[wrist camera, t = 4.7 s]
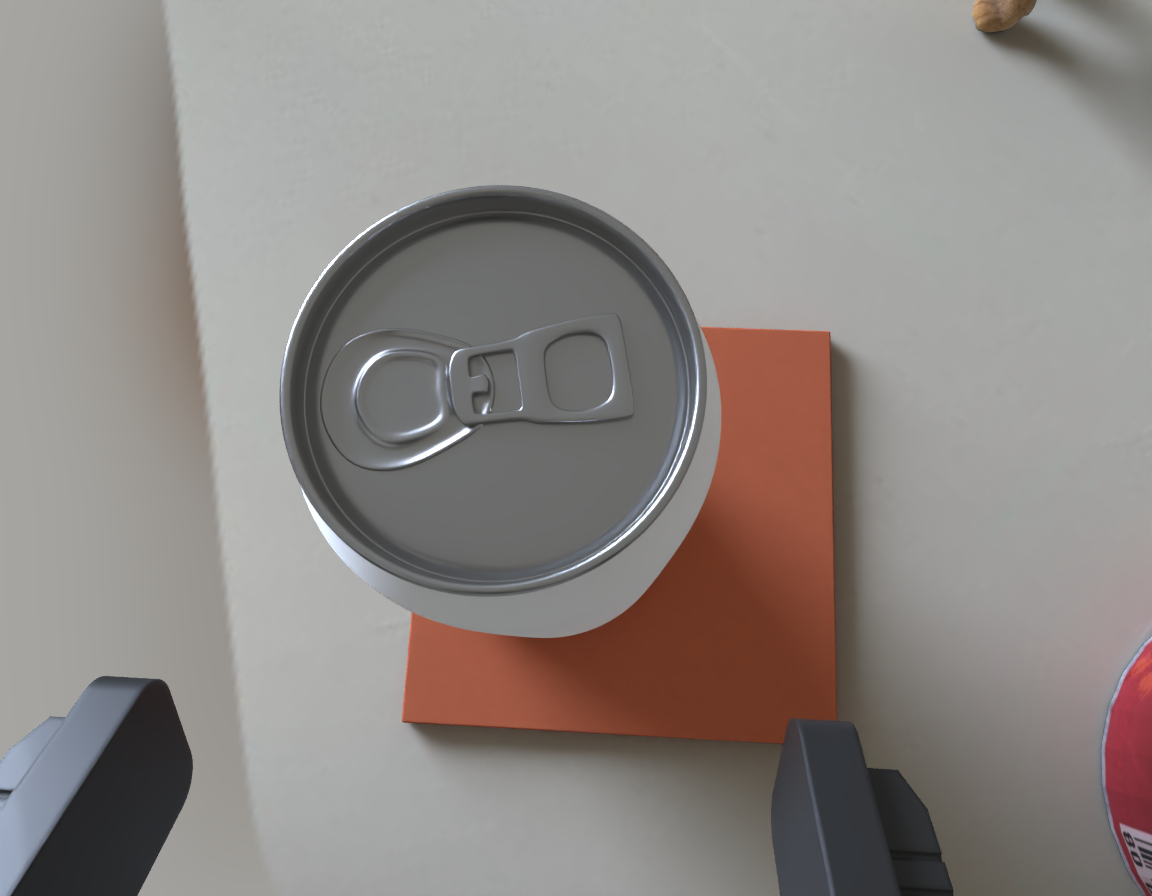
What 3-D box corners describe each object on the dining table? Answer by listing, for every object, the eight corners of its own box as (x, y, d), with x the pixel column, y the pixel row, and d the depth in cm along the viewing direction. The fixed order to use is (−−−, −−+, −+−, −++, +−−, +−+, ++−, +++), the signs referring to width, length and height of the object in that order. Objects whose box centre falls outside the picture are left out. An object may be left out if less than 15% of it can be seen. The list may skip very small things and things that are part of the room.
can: (419, 415, 24) (234, 190, 12) (651, 383, 24) (696, 124, 12) (442, 654, 22) (257, 666, 10) (690, 620, 22) (786, 593, 10)
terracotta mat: (404, 720, 22) (401, 722, 22) (441, 322, 25) (438, 316, 24) (833, 745, 22) (837, 747, 21) (826, 336, 24) (830, 330, 24)
